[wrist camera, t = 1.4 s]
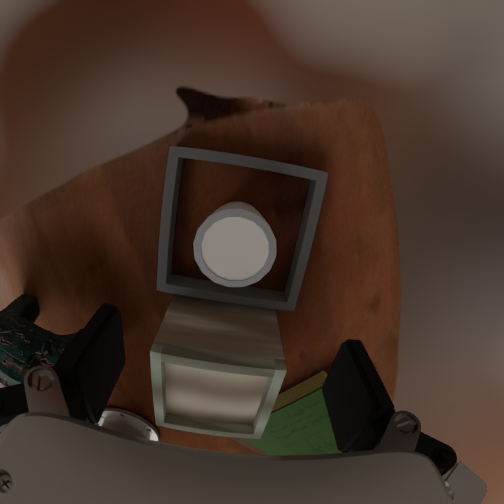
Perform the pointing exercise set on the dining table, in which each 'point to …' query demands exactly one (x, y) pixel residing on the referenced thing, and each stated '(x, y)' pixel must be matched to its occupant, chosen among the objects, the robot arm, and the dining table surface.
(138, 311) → the dining table surface
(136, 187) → the dining table surface
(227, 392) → the stand
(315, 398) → the hardcover book
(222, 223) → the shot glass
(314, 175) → the dark grey square frame
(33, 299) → the ceramic cat
